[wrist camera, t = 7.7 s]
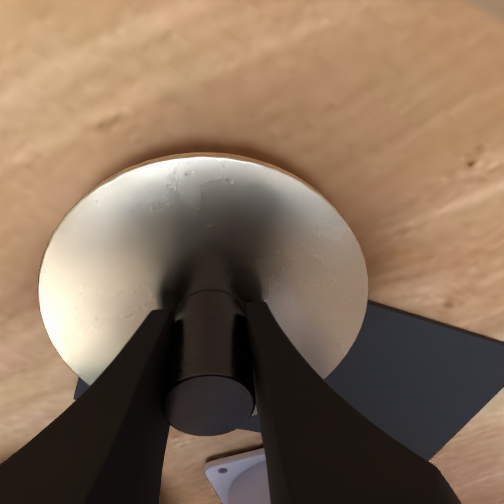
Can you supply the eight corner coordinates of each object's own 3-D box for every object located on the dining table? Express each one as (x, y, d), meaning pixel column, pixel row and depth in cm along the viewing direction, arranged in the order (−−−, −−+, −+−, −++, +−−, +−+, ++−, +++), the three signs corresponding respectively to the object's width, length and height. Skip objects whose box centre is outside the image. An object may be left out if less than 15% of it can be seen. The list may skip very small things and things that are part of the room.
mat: (531, 350, 17) (536, 355, 17) (424, 457, 20) (427, 462, 20) (118, 222, 12) (115, 225, 12) (75, 393, 15) (73, 399, 15)
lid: (336, 101, 10) (419, 122, 6) (370, 363, 15) (426, 472, 11) (-20, 205, 10) (-175, 293, 6) (133, 423, 15) (103, 549, 11)
